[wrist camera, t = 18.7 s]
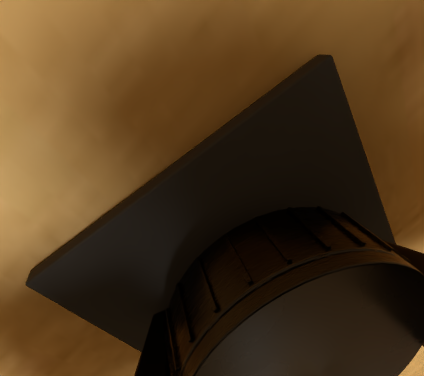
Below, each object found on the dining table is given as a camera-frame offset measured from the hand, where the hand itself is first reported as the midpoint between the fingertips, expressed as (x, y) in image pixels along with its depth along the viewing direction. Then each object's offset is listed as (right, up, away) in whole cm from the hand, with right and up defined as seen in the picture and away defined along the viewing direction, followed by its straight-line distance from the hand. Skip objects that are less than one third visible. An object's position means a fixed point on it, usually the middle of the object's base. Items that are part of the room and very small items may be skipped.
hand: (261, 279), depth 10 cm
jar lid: (+1, -1, -3) cm, 3 cm away
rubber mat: (0, 0, +1) cm, 1 cm away
